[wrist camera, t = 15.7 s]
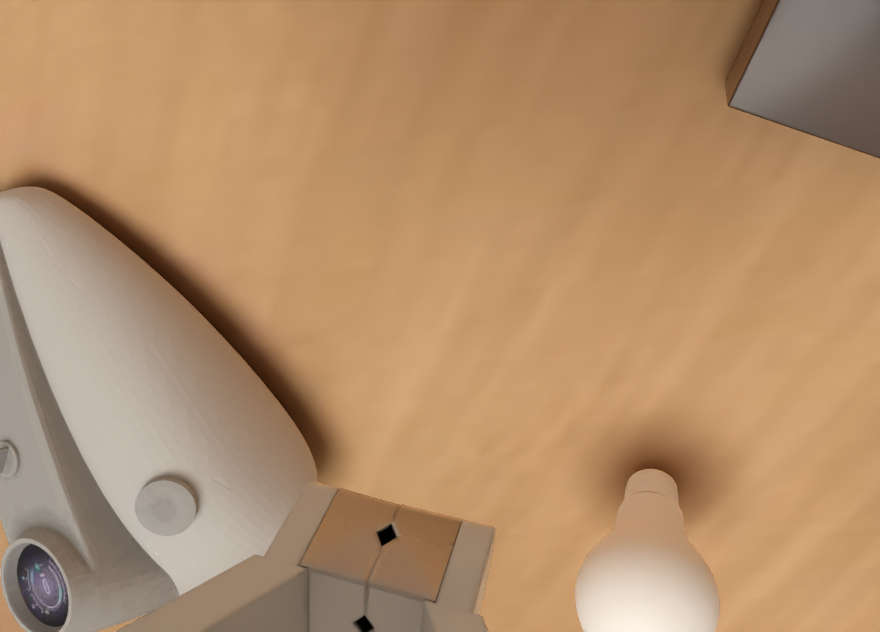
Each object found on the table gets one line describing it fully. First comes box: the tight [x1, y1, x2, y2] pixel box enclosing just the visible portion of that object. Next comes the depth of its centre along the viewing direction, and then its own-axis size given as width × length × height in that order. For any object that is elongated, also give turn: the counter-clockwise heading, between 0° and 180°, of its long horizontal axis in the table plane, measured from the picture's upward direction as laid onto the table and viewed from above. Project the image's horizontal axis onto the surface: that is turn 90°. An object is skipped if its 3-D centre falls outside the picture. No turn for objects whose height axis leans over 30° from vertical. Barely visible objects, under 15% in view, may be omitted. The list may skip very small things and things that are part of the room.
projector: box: [0, 186, 318, 632], centre depth 42 cm, size 22×23×15 cm
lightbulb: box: [575, 469, 720, 632], centre depth 38 cm, size 6×6×11 cm
